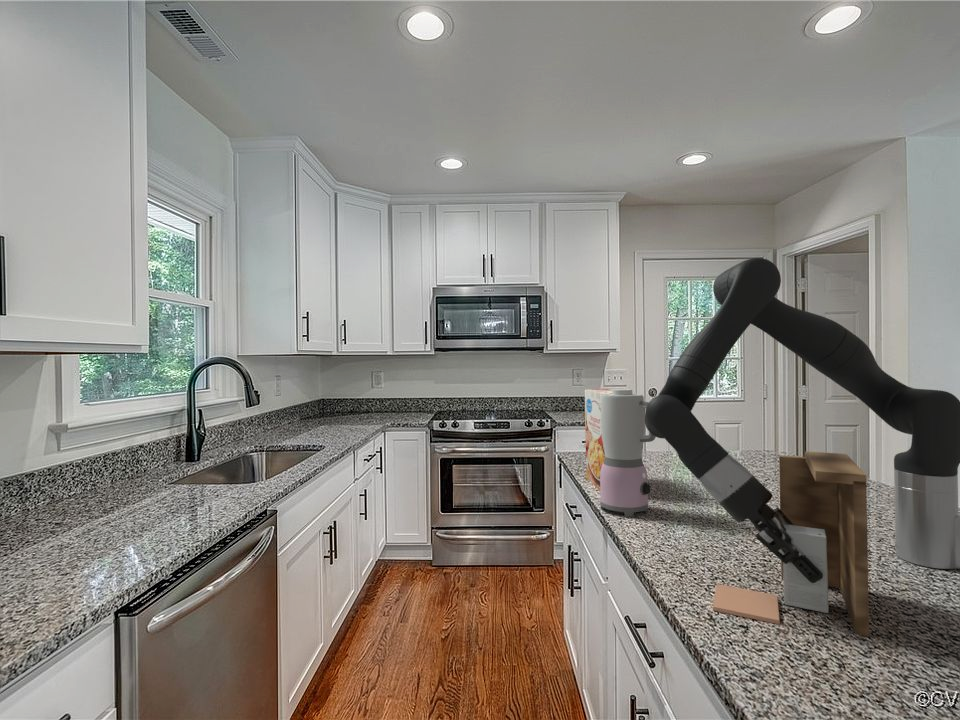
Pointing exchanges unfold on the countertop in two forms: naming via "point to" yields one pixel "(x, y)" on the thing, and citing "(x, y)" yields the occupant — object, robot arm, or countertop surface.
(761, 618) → the terracotta tile
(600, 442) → the pasta box
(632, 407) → the blender
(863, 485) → the walnut cubby
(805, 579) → the skincare box
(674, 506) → the countertop surface
